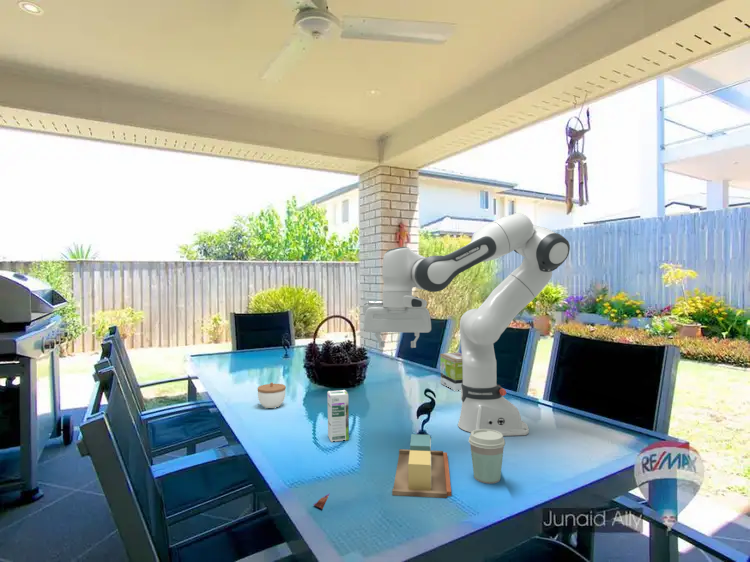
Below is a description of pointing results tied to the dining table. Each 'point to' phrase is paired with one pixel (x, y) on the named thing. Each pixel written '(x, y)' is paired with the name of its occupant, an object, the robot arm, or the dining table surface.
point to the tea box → (451, 370)
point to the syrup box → (338, 415)
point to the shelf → (438, 476)
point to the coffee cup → (487, 454)
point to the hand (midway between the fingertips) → (397, 347)
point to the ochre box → (419, 470)
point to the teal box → (420, 442)
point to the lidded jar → (271, 395)
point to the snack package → (321, 501)
